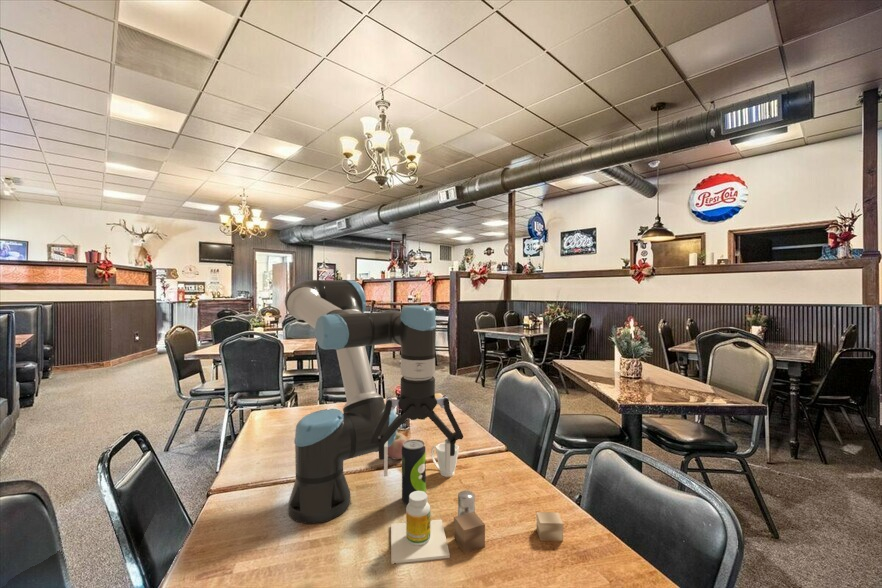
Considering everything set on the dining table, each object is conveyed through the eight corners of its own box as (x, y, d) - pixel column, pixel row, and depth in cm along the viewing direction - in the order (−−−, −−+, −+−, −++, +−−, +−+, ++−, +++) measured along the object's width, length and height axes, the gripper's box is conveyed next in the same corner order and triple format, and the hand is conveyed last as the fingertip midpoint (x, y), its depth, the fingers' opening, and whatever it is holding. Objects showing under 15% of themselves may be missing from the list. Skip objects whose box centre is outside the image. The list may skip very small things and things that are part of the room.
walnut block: (464, 553, 78) (464, 530, 78) (454, 538, 83) (454, 516, 83) (485, 547, 80) (484, 524, 80) (474, 533, 85) (474, 511, 85)
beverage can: (399, 496, 100) (399, 441, 100) (421, 492, 102) (421, 437, 102) (405, 509, 94) (405, 450, 94) (428, 504, 96) (428, 446, 96)
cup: (448, 481, 107) (448, 454, 107) (423, 470, 114) (423, 444, 114) (463, 472, 113) (463, 446, 112) (439, 462, 119) (439, 437, 119)
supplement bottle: (406, 531, 85) (405, 489, 85) (429, 529, 85) (429, 488, 85) (406, 547, 79) (406, 503, 79) (431, 545, 80) (431, 501, 80)
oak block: (540, 540, 82) (540, 523, 82) (536, 529, 86) (536, 512, 86) (563, 541, 82) (563, 523, 82) (558, 529, 86) (558, 512, 86)
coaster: (391, 564, 75) (391, 561, 75) (391, 526, 87) (391, 523, 87) (449, 557, 77) (449, 555, 77) (441, 521, 89) (441, 519, 89)
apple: (380, 462, 120) (380, 437, 120) (390, 452, 127) (390, 428, 127) (403, 465, 117) (403, 440, 117) (412, 455, 125) (412, 431, 125)
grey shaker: (459, 525, 88) (459, 500, 87) (456, 515, 92) (456, 491, 91) (476, 524, 88) (476, 499, 88) (472, 514, 92) (472, 490, 92)
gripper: (358, 382, 76) (357, 484, 77) (477, 379, 80) (475, 476, 80) (361, 373, 84) (360, 465, 84) (470, 370, 87) (468, 460, 88)
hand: (416, 471), depth 82 cm, fingers open, 13 cm apart
